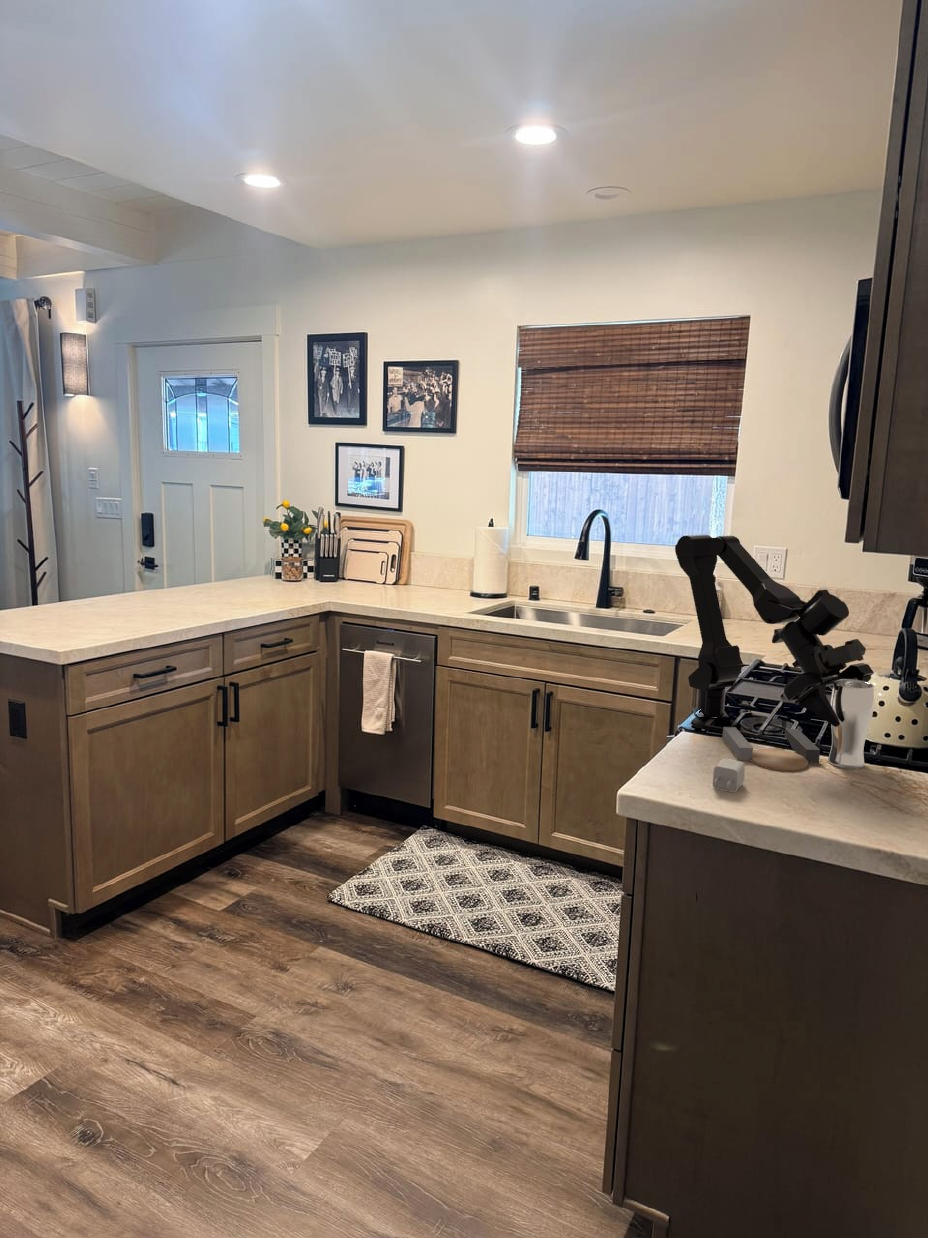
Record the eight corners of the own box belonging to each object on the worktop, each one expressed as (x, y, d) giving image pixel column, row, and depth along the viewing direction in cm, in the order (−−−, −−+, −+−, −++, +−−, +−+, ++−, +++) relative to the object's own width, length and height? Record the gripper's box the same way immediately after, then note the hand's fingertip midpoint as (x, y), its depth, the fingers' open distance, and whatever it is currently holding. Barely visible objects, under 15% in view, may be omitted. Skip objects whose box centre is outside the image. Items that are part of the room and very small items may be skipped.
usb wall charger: (743, 784, 141) (745, 762, 140) (732, 798, 135) (734, 775, 134) (719, 780, 143) (721, 757, 142) (708, 793, 137) (709, 770, 137)
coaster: (743, 751, 157) (743, 748, 157) (797, 752, 157) (797, 749, 157) (758, 770, 147) (759, 767, 147) (816, 772, 147) (816, 769, 147)
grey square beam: (722, 738, 164) (723, 727, 164) (734, 739, 164) (735, 727, 164) (738, 760, 152) (739, 747, 152) (751, 760, 152) (752, 748, 152)
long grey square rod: (784, 740, 164) (785, 728, 163) (796, 740, 163) (797, 729, 163) (805, 762, 152) (806, 749, 151) (818, 762, 152) (820, 750, 151)
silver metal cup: (858, 757, 154) (867, 679, 152) (873, 771, 148) (881, 689, 145) (819, 756, 155) (827, 677, 152) (832, 769, 148) (840, 688, 145)
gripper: (802, 629, 146) (852, 706, 139) (869, 620, 155) (919, 692, 148) (762, 664, 154) (808, 738, 147) (828, 653, 163) (874, 722, 156)
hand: (854, 721), depth 149 cm, fingers open, 9 cm apart
